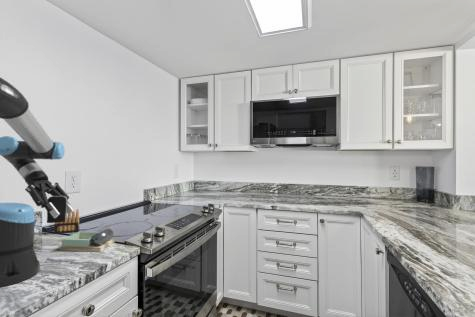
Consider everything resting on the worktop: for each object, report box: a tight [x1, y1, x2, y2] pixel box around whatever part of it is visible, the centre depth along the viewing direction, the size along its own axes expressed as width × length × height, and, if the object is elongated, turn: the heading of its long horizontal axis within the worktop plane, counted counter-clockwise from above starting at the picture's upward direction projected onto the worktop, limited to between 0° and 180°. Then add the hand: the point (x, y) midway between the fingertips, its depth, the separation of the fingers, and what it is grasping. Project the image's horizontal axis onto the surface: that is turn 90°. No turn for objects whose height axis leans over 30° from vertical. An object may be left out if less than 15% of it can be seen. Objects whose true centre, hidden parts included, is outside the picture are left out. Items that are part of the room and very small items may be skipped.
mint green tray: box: [59, 228, 116, 253], centre depth 106 cm, size 12×17×6 cm
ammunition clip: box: [53, 208, 80, 235], centre depth 124 cm, size 11×2×12 cm, turn 113°
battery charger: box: [46, 195, 69, 224], centre depth 105 cm, size 7×4×11 cm, turn 114°
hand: (64, 214), depth 104 cm, fingers closed on battery charger, 6 cm apart
